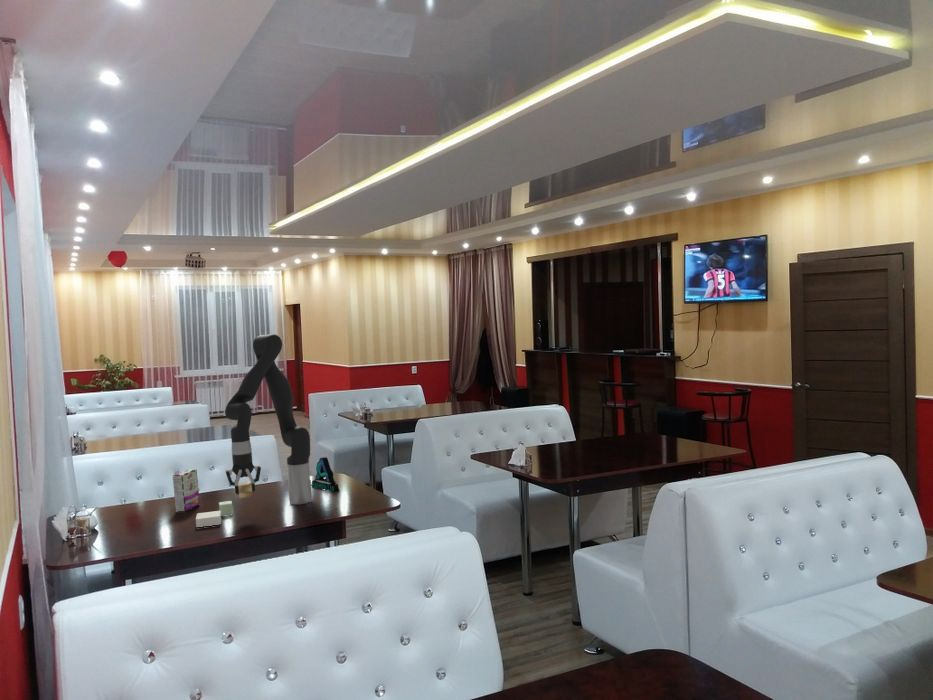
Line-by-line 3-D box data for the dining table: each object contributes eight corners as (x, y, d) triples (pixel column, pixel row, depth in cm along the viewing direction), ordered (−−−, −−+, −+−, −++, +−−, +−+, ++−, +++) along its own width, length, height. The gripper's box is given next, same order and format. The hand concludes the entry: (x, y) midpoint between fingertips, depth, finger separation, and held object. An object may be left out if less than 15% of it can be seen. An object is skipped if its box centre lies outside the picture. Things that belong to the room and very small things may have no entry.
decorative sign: (339, 491, 325) (337, 459, 324) (335, 492, 323) (333, 460, 322) (315, 486, 338) (313, 455, 337) (311, 487, 336) (309, 456, 335)
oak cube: (251, 493, 288) (250, 481, 287) (252, 496, 283) (251, 484, 283) (238, 495, 286) (237, 483, 286) (239, 498, 281) (238, 485, 281)
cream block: (221, 520, 287) (220, 510, 287) (220, 526, 279) (220, 516, 278) (197, 523, 284) (197, 513, 284) (196, 529, 276) (195, 519, 276)
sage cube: (232, 512, 298) (231, 500, 297) (232, 515, 293) (232, 503, 293) (219, 514, 296) (218, 502, 296) (220, 517, 291) (219, 505, 291)
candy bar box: (190, 505, 313) (187, 468, 312) (200, 505, 312) (197, 468, 311) (174, 512, 302) (172, 474, 301) (185, 512, 301) (182, 474, 300)
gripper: (259, 448, 289) (262, 488, 291) (222, 452, 284) (226, 494, 285) (261, 451, 283) (264, 492, 284) (223, 456, 277) (227, 498, 278)
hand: (245, 493), depth 284 cm, fingers closed on oak cube, 5 cm apart
